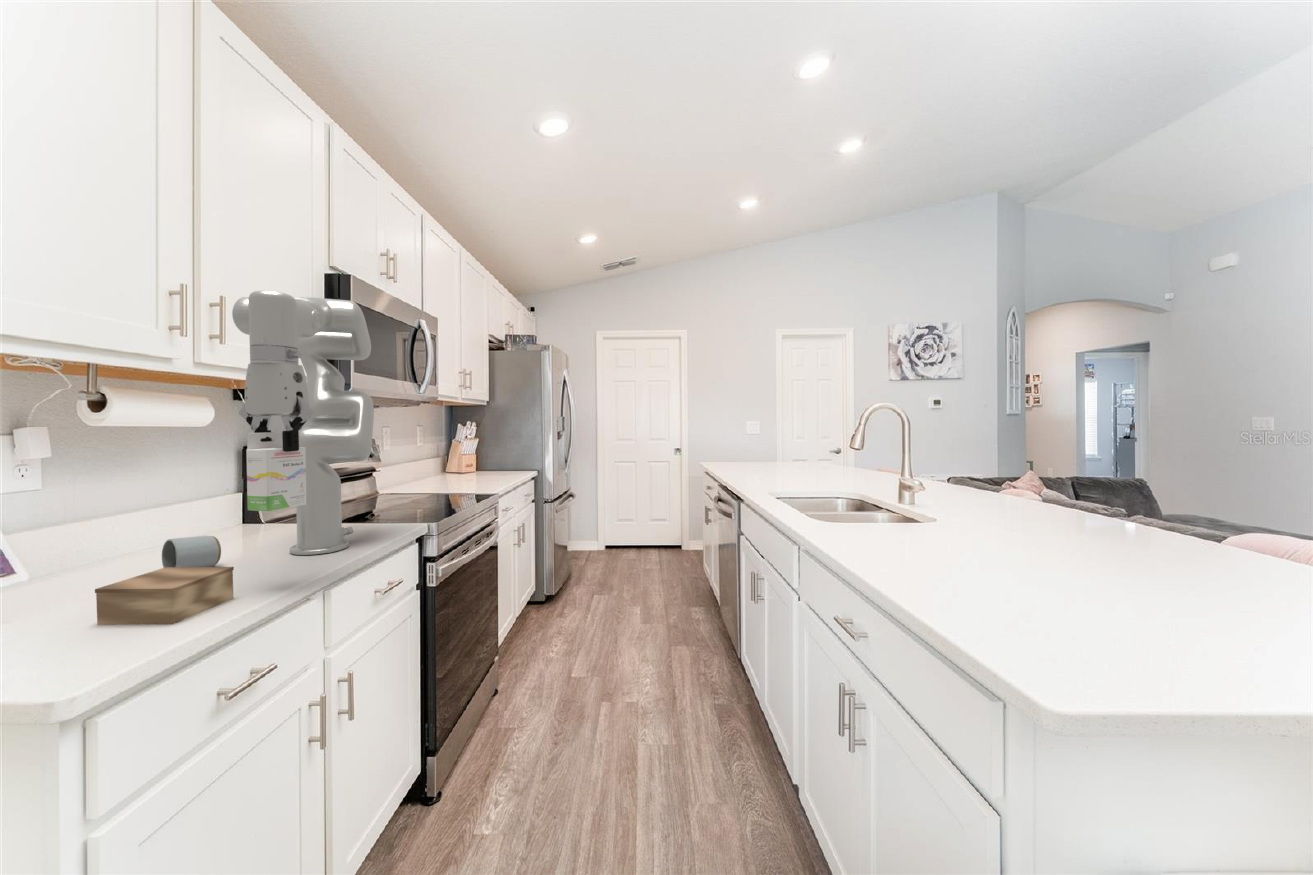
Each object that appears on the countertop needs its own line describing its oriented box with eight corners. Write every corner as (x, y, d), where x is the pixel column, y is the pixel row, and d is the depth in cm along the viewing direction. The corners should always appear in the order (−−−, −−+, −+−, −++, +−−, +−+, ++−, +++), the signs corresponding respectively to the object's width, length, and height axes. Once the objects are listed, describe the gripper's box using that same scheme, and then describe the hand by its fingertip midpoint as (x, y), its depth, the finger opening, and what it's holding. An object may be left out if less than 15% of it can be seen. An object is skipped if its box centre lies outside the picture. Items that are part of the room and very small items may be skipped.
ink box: (268, 512, 95) (265, 433, 94) (246, 511, 96) (243, 432, 95) (308, 504, 103) (306, 431, 103) (288, 503, 104) (286, 431, 104)
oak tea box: (166, 599, 94) (165, 567, 94) (234, 599, 94) (233, 566, 94) (96, 626, 82) (94, 589, 81) (173, 626, 82) (172, 588, 82)
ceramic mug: (224, 567, 113) (223, 533, 113) (177, 577, 106) (175, 541, 106) (200, 562, 118) (199, 529, 118) (153, 572, 111) (152, 537, 110)
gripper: (330, 359, 101) (332, 450, 102) (252, 359, 103) (254, 449, 104) (299, 354, 94) (302, 452, 94) (216, 355, 95) (219, 451, 96)
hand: (277, 450), depth 99 cm, fingers closed on ink box, 5 cm apart
